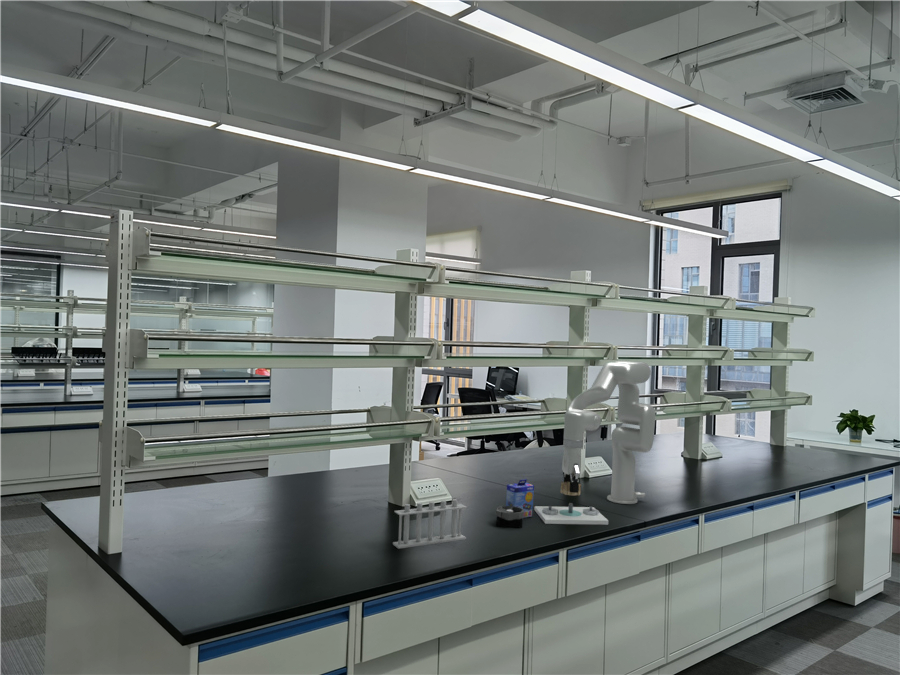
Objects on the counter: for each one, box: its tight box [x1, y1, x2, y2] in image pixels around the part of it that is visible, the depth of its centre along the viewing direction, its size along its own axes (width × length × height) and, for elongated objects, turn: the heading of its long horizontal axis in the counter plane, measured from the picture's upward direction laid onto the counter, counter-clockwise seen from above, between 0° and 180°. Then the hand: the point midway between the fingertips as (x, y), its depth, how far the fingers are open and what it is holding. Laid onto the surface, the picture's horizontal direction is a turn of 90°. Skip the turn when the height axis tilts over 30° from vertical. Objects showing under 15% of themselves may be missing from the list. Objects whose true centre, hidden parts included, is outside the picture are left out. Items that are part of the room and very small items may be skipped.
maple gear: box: [559, 481, 582, 497], centre depth 250 cm, size 8×8×4 cm
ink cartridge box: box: [505, 478, 535, 519], centre depth 248 cm, size 10×6×14 cm, turn 125°
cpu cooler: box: [495, 505, 525, 529], centre depth 238 cm, size 10×6×10 cm
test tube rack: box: [392, 498, 468, 550], centre depth 214 cm, size 25×4×13 cm, turn 119°
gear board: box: [534, 502, 609, 526], centre depth 250 cm, size 24×18×5 cm
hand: (570, 489), depth 250 cm, fingers closed on maple gear, 7 cm apart
